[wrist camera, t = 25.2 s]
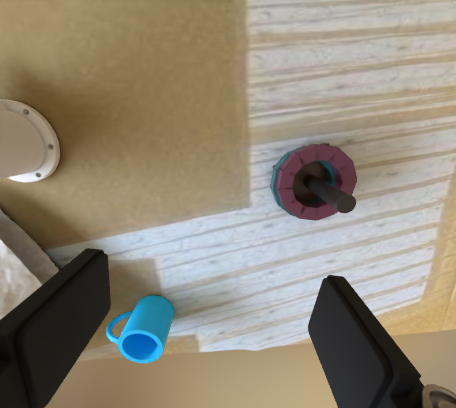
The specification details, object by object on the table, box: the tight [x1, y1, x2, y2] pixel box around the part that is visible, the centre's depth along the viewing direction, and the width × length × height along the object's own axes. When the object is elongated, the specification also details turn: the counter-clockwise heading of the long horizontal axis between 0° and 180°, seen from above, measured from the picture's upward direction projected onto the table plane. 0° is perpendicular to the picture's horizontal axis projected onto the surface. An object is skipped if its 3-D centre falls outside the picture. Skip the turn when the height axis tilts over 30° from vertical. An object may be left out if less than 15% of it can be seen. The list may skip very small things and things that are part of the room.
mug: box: [106, 295, 174, 363], centre depth 42 cm, size 12×8×8 cm
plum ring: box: [276, 144, 357, 220], centre depth 32 cm, size 11×11×2 cm
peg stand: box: [273, 143, 356, 213], centre depth 30 cm, size 9×9×13 cm
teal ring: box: [270, 146, 336, 216], centre depth 34 cm, size 11×11×2 cm
